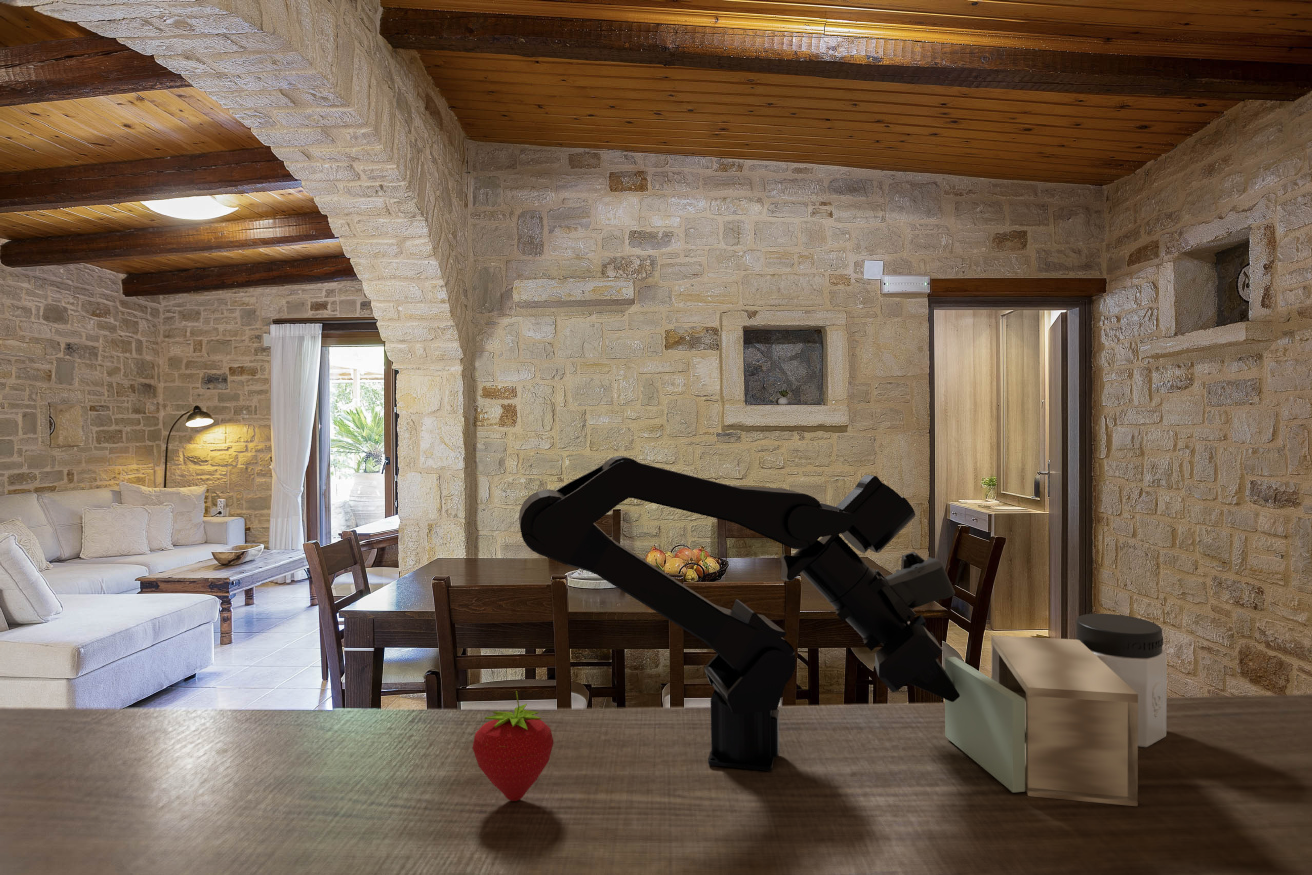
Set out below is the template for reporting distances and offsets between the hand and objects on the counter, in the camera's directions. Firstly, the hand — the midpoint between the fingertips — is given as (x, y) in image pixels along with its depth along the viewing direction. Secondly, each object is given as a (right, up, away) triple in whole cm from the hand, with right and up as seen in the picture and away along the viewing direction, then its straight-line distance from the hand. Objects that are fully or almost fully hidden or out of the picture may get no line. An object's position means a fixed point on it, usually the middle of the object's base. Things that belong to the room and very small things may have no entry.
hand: (953, 694), depth 77 cm
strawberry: (-44, -7, -8) cm, 46 cm away
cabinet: (+10, -6, -2) cm, 11 cm away
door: (+2, -6, -3) cm, 7 cm away
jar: (+20, -6, +5) cm, 21 cm away
